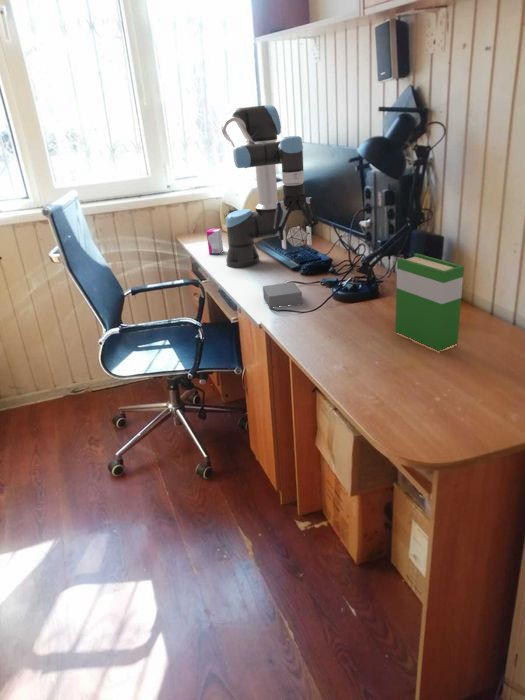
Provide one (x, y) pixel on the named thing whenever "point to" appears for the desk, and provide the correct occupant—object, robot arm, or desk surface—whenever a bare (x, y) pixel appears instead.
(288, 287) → the base block
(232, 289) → the desk surface
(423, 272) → the hardback book
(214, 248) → the supplement box
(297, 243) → the game die
